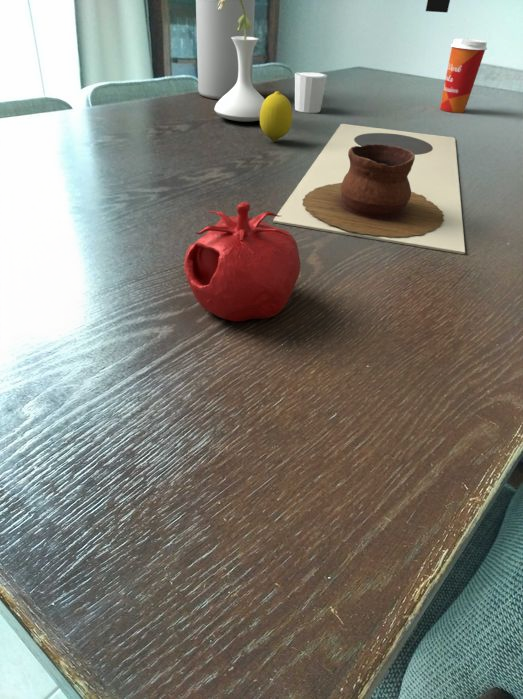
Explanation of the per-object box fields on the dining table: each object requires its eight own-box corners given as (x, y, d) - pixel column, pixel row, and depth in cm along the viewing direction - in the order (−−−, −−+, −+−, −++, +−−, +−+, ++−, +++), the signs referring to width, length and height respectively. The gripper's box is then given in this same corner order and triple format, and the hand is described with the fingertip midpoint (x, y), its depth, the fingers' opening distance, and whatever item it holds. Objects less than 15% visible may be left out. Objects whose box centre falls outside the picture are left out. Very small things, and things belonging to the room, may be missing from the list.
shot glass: (285, 108, 108) (288, 72, 104) (305, 105, 112) (309, 70, 108) (309, 115, 104) (313, 77, 100) (329, 111, 108) (334, 75, 104)
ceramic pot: (384, 252, 53) (398, 187, 49) (273, 200, 63) (277, 143, 59) (470, 215, 63) (489, 158, 59) (363, 176, 73) (372, 125, 69)
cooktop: (454, 139, 94) (455, 137, 94) (464, 254, 54) (465, 252, 54) (341, 125, 99) (341, 123, 98) (272, 222, 59) (272, 220, 58)
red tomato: (295, 277, 48) (305, 182, 43) (297, 337, 40) (310, 230, 35) (194, 270, 48) (191, 175, 43) (177, 329, 40) (170, 221, 35)
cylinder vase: (233, 103, 109) (235, -40, 94) (187, 95, 114) (182, -43, 99) (261, 95, 118) (267, -37, 103) (217, 87, 123) (217, -40, 107)
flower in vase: (227, 110, 104) (228, -41, 89) (278, 117, 101) (289, -38, 86) (201, 123, 94) (197, -44, 79) (257, 131, 91) (264, -40, 76)
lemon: (256, 144, 85) (258, 92, 80) (261, 136, 89) (263, 86, 84) (288, 147, 84) (292, 95, 79) (291, 139, 89) (295, 89, 84)
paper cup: (432, 105, 119) (448, 37, 111) (463, 107, 119) (482, 39, 111) (439, 112, 113) (458, 41, 104) (473, 114, 113) (494, 43, 104)
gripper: (454, -252, 55) (408, 7, 69) (459, -304, 44) (404, 12, 59) (527, -255, 53) (464, 10, 67) (549, -309, 43) (469, 16, 57)
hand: (436, 11), depth 63 cm, fingers closed
